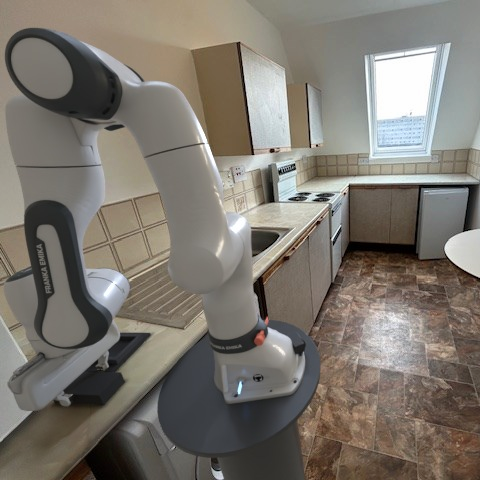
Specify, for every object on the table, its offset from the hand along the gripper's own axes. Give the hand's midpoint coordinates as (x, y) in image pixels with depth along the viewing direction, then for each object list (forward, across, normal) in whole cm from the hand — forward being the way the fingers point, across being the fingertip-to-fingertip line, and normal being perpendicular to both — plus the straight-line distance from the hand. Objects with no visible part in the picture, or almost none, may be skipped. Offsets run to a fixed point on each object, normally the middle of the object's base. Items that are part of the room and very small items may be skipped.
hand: (87, 385), depth 60 cm
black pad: (+2, 0, 0) cm, 2 cm away
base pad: (+2, +12, +7) cm, 14 cm away
